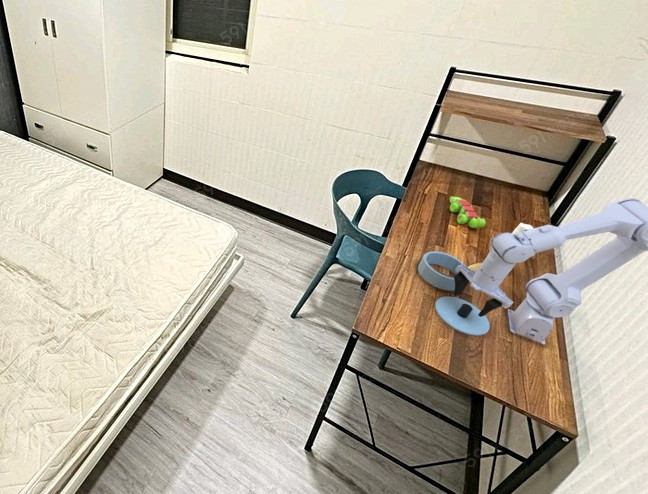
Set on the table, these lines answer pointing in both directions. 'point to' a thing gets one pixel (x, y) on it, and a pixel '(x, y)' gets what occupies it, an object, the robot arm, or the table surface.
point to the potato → (474, 266)
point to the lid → (462, 316)
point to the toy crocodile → (466, 213)
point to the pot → (434, 276)
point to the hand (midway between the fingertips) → (468, 304)
